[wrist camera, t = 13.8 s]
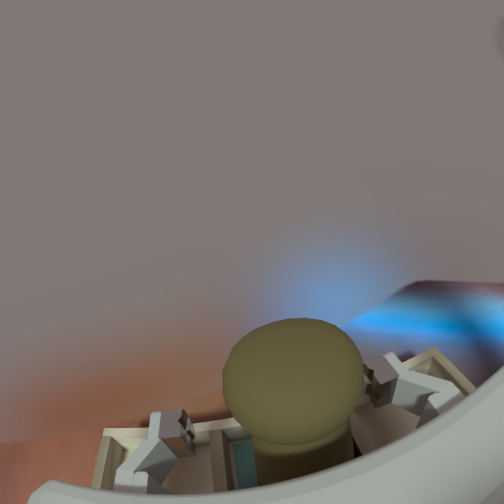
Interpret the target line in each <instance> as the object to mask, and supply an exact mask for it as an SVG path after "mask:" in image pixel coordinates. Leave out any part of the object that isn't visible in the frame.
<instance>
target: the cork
mask: <svg viewBox="0 0 504 504" xmlns="http://www.w3.org/2000/svg"><path fill="white" fill-rule="evenodd" d="M363 385H364V370H363V362H362V358H361V355H360V352H359V350H358V349H357V347H356V346H355V344H354V342H353V341H352V340H351V338H350V337H349V336H348V335H347V334H346V333H345V332H343V331H342V330H341V329H339V328H338V327H336V326H335V325H333V324H330V323H327V322H324V321H322V320H316V319H308V318H298V319H297V318H296V319H285V320H281V321H276V322H272V323H269V324H266V325H264V326H262V327H259V328H257V329H255V330H253V331H252V332H250V333H249V334H247V335H246V336H244V337H243V338H242V339H241V340H240V341H239V342H238V343H237V344H236V345H235V346H234V347H233V348H232V351H231V353H230V355H229V358H228V360H227V362H226V364H225V367H224V369H223V396H224V399H225V401H226V403H227V405H228V407H229V409H230V411H231V413H232V415H233V417H234V419H235V420H236V421H237V422H238V423H239V424H240V425H241V426H242V427H244V428H245V429H246V430H247V431H248V432H250V433H251V438H252V445H253V452H254V458H255V465H256V472H257V478H258V485H259V486H263V485H268V484H273V483H277V482H282V481H286V480H290V479H294V478H298V477H301V476H305V475H308V474H312V473H315V472H318V471H322V470H325V469H328V468H331V467H334V466H336V465H339V464H342V463H345V462H347V461H350V460H352V459H355V458H354V449H353V440H352V432H351V424H350V416H351V415H352V413H353V412H354V410H355V408H356V407H357V405H358V402H359V399H360V396H361V393H362V390H363Z"/></svg>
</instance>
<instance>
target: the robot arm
mask: <svg viewBox="0 0 504 504" xmlns="http://www.w3.org/2000/svg"><path fill="white" fill-rule="evenodd" d="M492 35H493V42H494V45H495V48H496V51H497V53H498V55H499V57H500V59H501V61H502V62H503V64H504V16H500V17H496V19H495V21H494V23H493V30H492ZM363 370H364V385H363V390H364V391H365V393H366V394H369V395H370V401H371V402H372V404H373V405H374V407H375V408H376V409H377V408H379V407H382V406H384V405H386V404H389V403H391V402H392V404H394V405H396V406H398V407H401V408H403V409H405V410H407V411H409V412H411V413H413V414H415V415H417V416H419V417H420V419H419V422H418V424H417V426H416V428H417V429H415V430H414V431H412V432H410V433H408V434H406V435H404V436H403V437H401V438H399V439H397V440H395V441H393V442H391V443H389V444H387V445H385V446H383V447H380V448H378V449H376V450H374V451H372V452H369V453H367V454H365V455H362V456H360V457H357V458H355V459H352V460H350V461H347V462H345V463H342V464H339V465H336V466H334V467H331V468H328V469H325V470H322V471H318V472H315V473H312V474H308V475H305V476H301V477H298V478H294V479H290V480H286V481H282V482H277V483H273V484H268V485H263V486H258V487H252V488H246V489H239V490H232V491H223V492H213V493H200V494H171V493H170V492H169V491H168V490H167V489H166V488H164V487H163V486H162V484H163V482H164V481H165V479H166V478H167V476H168V475H169V473H170V471H171V470H172V468H173V467H174V465H175V464H176V462H177V460H178V458H184V457H193V456H196V453H195V444H194V442H193V440H194V438H195V429H194V425H193V423H192V421H191V419H189V418H187V413H186V411H185V410H184V409H181V410H170V411H158V412H152V414H151V417H150V423H149V430H148V437H147V439H144V440H143V442H142V443H141V444H140V445H139V446H138V447H137V448H136V449H135V450H134V451H133V452H132V454H131V455H130V456H129V457H128V458H127V459H126V460H125V461H124V462H123V463H122V464H121V465H120V466H119V468H118V469H117V470H116V476H115V482H114V489H113V491H111V490H104V489H97V488H92V487H86V486H81V485H76V484H72V483H68V482H64V481H60V480H55V479H52V480H49V481H48V482H46V483H45V484H43V485H42V486H40V487H39V488H38V489H37V490H35V491H34V492H33V493H32V494H31V496H30V498H29V500H28V503H27V504H504V365H503V366H502V367H501V368H500V369H499V370H498V371H497V372H495V373H494V374H493V375H492V376H491V377H490V378H489V379H487V380H486V381H485V382H484V383H483V384H481V385H480V386H479V387H478V388H476V389H475V390H474V391H473V392H471V393H470V394H469V395H467V396H466V397H465V396H464V395H463V394H462V392H461V391H460V390H459V389H458V388H457V387H456V386H455V385H454V384H453V383H452V382H450V381H447V380H443V379H440V378H436V377H433V376H429V375H426V374H422V373H419V372H416V371H413V370H412V371H409V370H408V369H407V368H406V367H405V366H404V365H403V363H402V362H401V361H400V360H399V359H398V358H397V357H396V356H395V354H394V353H393V352H389V353H387V354H384V355H382V356H379V357H377V358H375V359H372V360H370V361H367V362H365V363H363Z"/></svg>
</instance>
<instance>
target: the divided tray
mask: <svg viewBox="0 0 504 504" xmlns="http://www.w3.org/2000/svg"><path fill="white" fill-rule="evenodd" d="M403 365H404V366H405V367H406V368H407V369H408V370H409V371H412V370H413V371H416V372H419V373H422V374H426V375H429V376H433V377H436V378H440V379H443V380H447V381H450V382H452V383H453V384H454V385H455V386H456V387H457V388H458V389H459V390H460V391H461V392H462V394H463V395H464V396H465V397H466V396H467V395H469V394H470V393H471V392H473V391H474V390H475V389H476V387H475V386H474V385H473V384H472V383H471V382H470V381H469V380H468V379H467V378H466V377H465V376H464V375H463V374H462V373H461V372H460V371H459V370H458V369H457V368H456V367H455V366H454V365H453V364H452V363H451V362H450V361H449V360H448V359H447V358H446V357H445V356H444V355H442V354H441V353H440V352H439V351H438V350H437V349H436V348H435V347H432V348H430V349H429V350H427V351H425V352H423V353H421V354H419V355H417V356H415V357H413V358H411V359H409V360H407V361H405V362H403ZM419 419H420V417H419V416H417V415H415V414H413V413H411V412H409V411H407V410H405V409H403V408H401V407H398V406H396V405H394V404H392V402H391V403H389V404H386V405H384V406H382V407H379V408H377V409H376V408H375V407H374V405H373V404H372V402H371V401H370V395H369V394H366V393H365V391H364V390H362V393H361V396H360V399H359V402H358V405H357V407H356V408H355V410H354V412H353V413H352V415H351V416H350V424H351V432H352V440H353V449H354V458H357V457H360V456H362V455H365V454H367V453H369V452H372V451H374V450H376V449H378V448H380V447H383V446H385V445H387V444H389V443H391V442H393V441H395V440H397V439H399V438H401V437H403V436H404V435H406V434H408V433H410V432H412V431H414V430H415V429H417V428H416V426H417V424H418V422H419ZM193 425H194V429H195V438H194V440H193V442H194V444H195V453H196V456H193V457H184V458H178V460H177V462H176V464H175V465H174V467H173V468H172V470H171V471H170V473H169V475H168V476H167V478H166V479H165V481H164V482H163V484H162V486H163V487H164V488H166V489H167V490H168V491H169V492H170V493H171V494H200V493H213V492H223V491H232V490H239V489H246V488H252V487H258V486H259V485H258V478H257V472H256V465H255V458H254V452H253V445H252V438H251V433H250V432H248V431H247V430H246V429H245V428H244V427H242V426H241V425H240V424H239V423H238V422H237V421H236V420H235V419H234V417H233V418H228V419H222V420H216V421H209V422H202V423H195V424H193ZM148 430H149V428H104V432H103V436H102V440H101V444H100V448H99V452H98V456H97V460H96V465H95V469H94V474H93V479H92V484H91V487H92V488H97V489H104V490H111V491H113V489H114V482H115V476H116V470H117V469H118V468H119V466H120V465H121V464H122V463H123V462H124V461H125V460H126V459H127V458H128V457H129V456H130V455H131V454H132V452H133V451H134V450H135V449H136V448H137V447H138V446H139V445H140V444H141V443H142V442H143V440H144V439H147V437H148Z"/></svg>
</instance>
